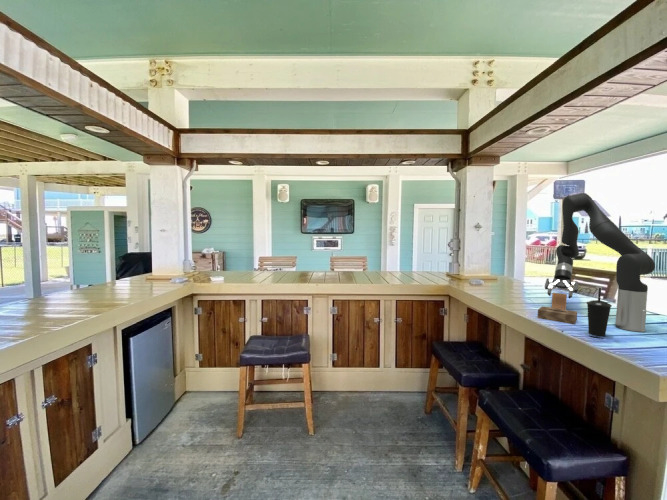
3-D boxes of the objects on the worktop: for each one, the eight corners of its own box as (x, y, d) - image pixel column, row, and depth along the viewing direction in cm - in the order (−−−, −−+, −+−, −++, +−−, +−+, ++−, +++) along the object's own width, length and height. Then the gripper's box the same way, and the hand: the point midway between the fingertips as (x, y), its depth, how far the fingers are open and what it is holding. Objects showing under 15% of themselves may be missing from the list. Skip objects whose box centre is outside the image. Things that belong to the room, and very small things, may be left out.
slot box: (576, 322, 143) (577, 311, 143) (574, 326, 136) (575, 315, 136) (541, 316, 153) (541, 306, 153) (537, 320, 146) (537, 309, 145)
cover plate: (565, 312, 160) (566, 294, 160) (565, 313, 159) (566, 294, 159) (551, 310, 164) (552, 292, 164) (551, 311, 163) (552, 292, 163)
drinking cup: (587, 338, 121) (591, 288, 120) (581, 332, 128) (584, 285, 127) (612, 341, 118) (616, 290, 116) (605, 335, 124) (608, 287, 123)
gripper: (547, 267, 172) (542, 290, 164) (579, 270, 162) (576, 294, 155) (548, 275, 176) (543, 298, 169) (579, 278, 167) (576, 302, 159)
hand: (559, 296), depth 162 cm, fingers open, 8 cm apart
